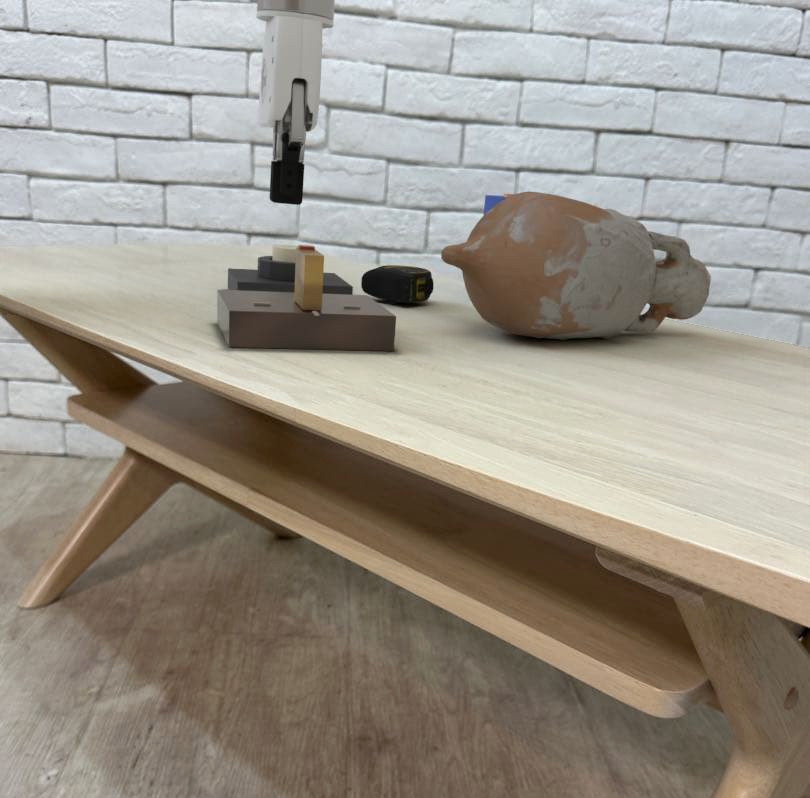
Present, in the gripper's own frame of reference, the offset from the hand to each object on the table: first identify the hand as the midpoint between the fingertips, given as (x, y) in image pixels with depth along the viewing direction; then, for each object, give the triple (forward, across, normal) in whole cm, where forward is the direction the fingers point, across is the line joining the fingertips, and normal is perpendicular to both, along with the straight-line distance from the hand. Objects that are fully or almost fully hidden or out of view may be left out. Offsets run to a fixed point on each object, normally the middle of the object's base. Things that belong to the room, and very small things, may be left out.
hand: (285, 202), depth 104 cm
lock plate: (+10, +21, -1) cm, 24 cm away
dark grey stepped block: (+10, 0, +1) cm, 10 cm away
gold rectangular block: (+7, +23, -1) cm, 24 cm away
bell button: (+6, 0, +1) cm, 6 cm away
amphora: (+9, +18, +26) cm, 33 cm away
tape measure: (+10, +1, +13) cm, 16 cm away
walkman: (+9, -6, +28) cm, 30 cm away
